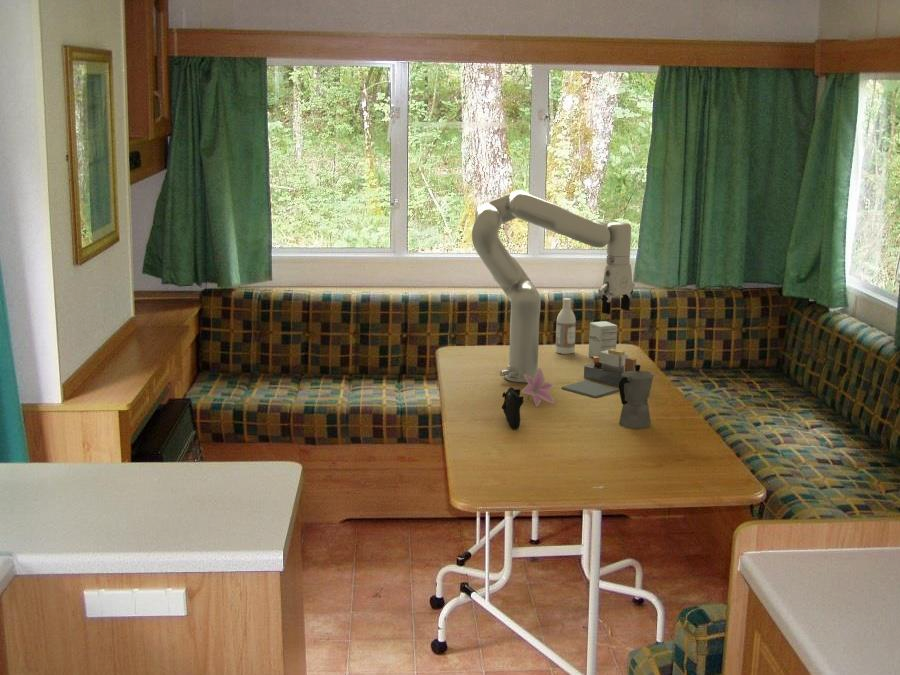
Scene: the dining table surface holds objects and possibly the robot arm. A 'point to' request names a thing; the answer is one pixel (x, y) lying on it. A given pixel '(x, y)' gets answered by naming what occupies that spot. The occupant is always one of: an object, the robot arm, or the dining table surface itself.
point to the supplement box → (602, 337)
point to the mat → (590, 389)
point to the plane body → (608, 371)
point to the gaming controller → (512, 407)
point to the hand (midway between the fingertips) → (615, 311)
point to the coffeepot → (635, 398)
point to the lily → (538, 388)
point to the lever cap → (613, 357)
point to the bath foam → (565, 329)
